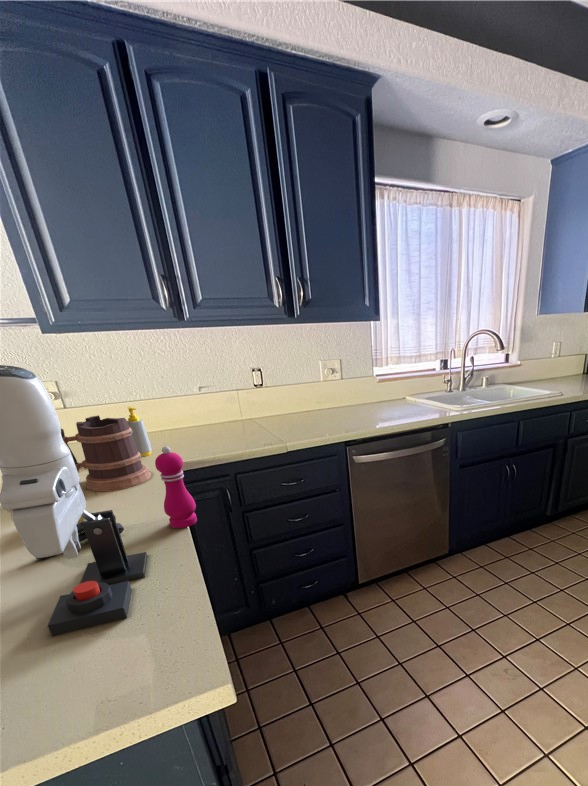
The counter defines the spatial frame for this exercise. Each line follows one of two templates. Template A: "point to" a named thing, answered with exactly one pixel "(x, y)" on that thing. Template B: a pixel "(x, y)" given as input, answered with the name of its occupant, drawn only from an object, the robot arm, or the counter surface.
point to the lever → (91, 516)
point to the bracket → (110, 553)
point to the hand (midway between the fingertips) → (74, 554)
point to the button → (86, 590)
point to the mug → (108, 454)
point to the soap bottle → (139, 434)
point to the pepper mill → (175, 490)
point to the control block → (91, 609)
